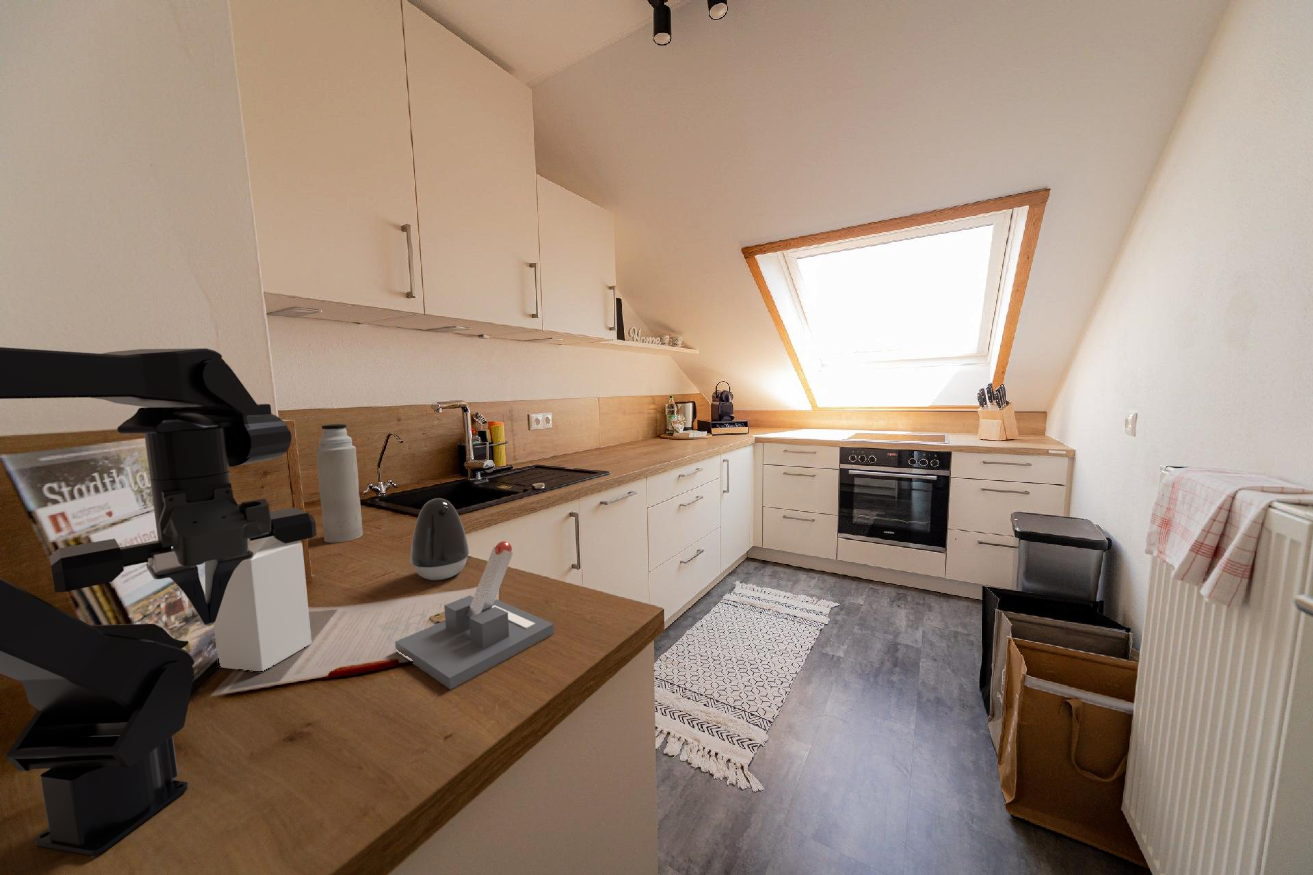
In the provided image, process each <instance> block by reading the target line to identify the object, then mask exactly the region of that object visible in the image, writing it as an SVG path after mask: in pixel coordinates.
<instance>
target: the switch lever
mask: <svg viewBox="0 0 1313 875" xmlns="http://www.w3.org/2000/svg"><path fill="white" fill-rule="evenodd" d="M491 550H492V551H491V553H490V555H489V557H488V561H487V563H486V565H485V568H484V571H483V573H482V576H481V577H480V580H479V583H478V585H477V588H476V590H475V591H474V596H472V597H473V600H472V602H471V605H470V607H469V610H468V612H467V615H466V616H468V617H472V616H475V615H477V614H479V613H482V612H484V611H486V610H489V609H491V608H492V606H493V603H494V601H495V600H496V599H497V595H498V592H499V590H500V587H501V586H502V583H503V581H504V580H503V579H504V577H505V574H506V572H507V569H508V567H509V564H510V562H511V560H512V556H513V554H514V553H513V548H512V545H511V543H510V542H508V541H500V542H498V543H497V544H496V545H495V546H493V548H492V549H491Z"/></svg>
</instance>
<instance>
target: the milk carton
mask: <svg viewBox="0 0 1313 875" xmlns="http://www.w3.org/2000/svg"><path fill="white" fill-rule="evenodd" d="M248 548H249V550H250V551H252V552H253V557H252V558H250V559H247V560H243V561H242V562H241V563H240V564H239V565H238V566H237V568H236V569H235V570H234V572H233V574H232V576H231V578H230V580H229V582H228V584H227V587H226V590H225V593H224V596H223V599H222V602H221V606H220V609H219V612H218V615H217V618H216V621H215V622H214V623H212V624H213V630H214V632H213V633H214V641H215V648H216V655H217V654H218V658H219V663H220V666H221V667H220V668H224V669H229V670H230V669H231V670H238V669H244V670H243V671H246V670H250V671H249V672H253V671H263V672H265V671H267V670H268V668H269V669H270V668H272V667H274V666H276V665H277V664H279V663H280V662H282V661H284V660H287V658H289V657H291V656H292V655H294V654H296V653H298V652H300V651H301V650H303V649H305V648H306V647H308V646H310V645H312V642H313V641H312V632H311V623H310V622H311V621H310V612H309V602H308V601H309V600H308V592H307V580H306V568H305V561H304V560H305V558H304V549H303V542H302V541H301V540H299V541H295V542H290V543H286V544H285V543H283V542H281V541H279V540H277V539H275V538H274V536H271V537H267V538H262V539H257V540H252V541H250V545H248ZM304 647H305V648H304ZM218 658H217V659H218ZM273 665H274V666H273ZM245 669H246V670H245ZM266 669H267V670H266ZM251 670H253V671H251ZM264 670H265V671H264Z"/></svg>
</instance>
